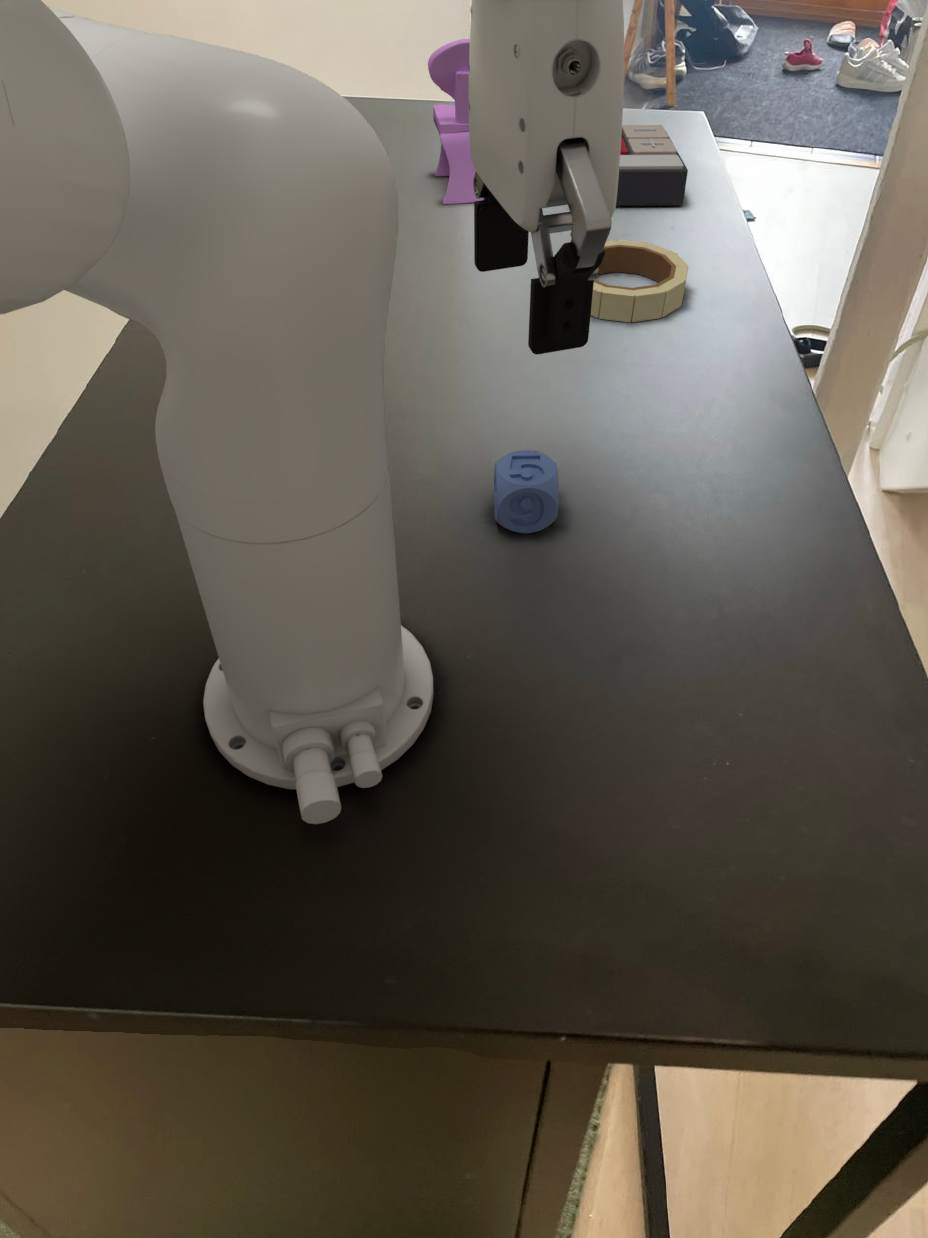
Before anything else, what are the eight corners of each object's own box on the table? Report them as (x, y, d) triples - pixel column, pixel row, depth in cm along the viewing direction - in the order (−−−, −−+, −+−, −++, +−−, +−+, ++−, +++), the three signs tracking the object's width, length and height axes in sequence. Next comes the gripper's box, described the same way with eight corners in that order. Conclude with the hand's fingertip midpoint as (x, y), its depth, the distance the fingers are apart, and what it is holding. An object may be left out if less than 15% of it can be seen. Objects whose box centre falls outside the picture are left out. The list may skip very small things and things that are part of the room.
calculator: (666, 121, 105) (690, 162, 95) (661, 161, 108) (683, 205, 97) (571, 121, 105) (584, 162, 95) (568, 161, 108) (581, 206, 97)
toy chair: (497, 170, 105) (500, 18, 94) (510, 200, 99) (515, 41, 88) (425, 174, 104) (420, 21, 93) (434, 204, 98) (430, 45, 87)
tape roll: (703, 312, 82) (708, 285, 80) (588, 329, 80) (591, 302, 78) (652, 259, 89) (656, 233, 87) (546, 273, 87) (548, 248, 85)
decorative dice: (550, 496, 63) (554, 448, 61) (556, 533, 61) (560, 485, 58) (493, 497, 63) (494, 449, 61) (496, 534, 61) (497, 486, 58)
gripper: (715, -28, 34) (652, 373, 47) (554, -107, 46) (538, 232, 58) (526, -10, 33) (513, 398, 45) (409, -97, 44) (425, 248, 57)
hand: (527, 304), depth 52 cm, fingers open, 9 cm apart
